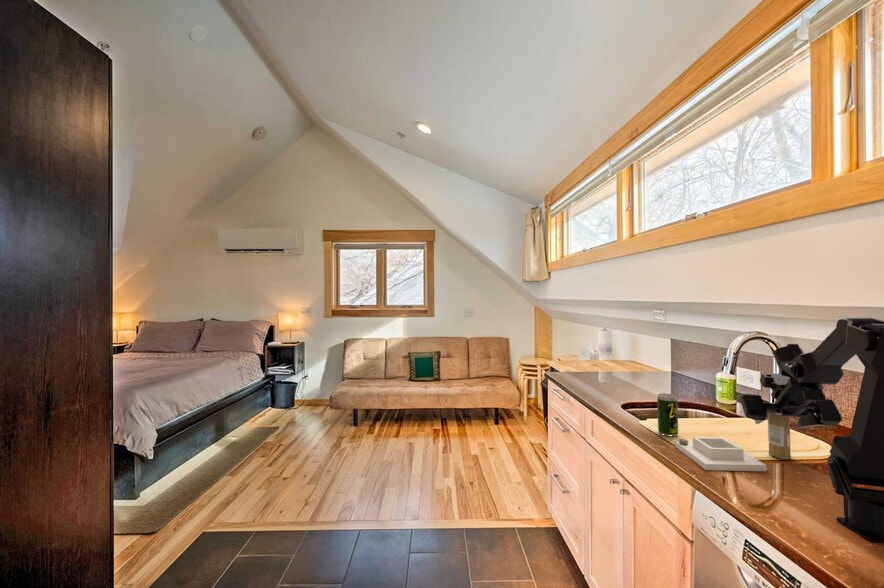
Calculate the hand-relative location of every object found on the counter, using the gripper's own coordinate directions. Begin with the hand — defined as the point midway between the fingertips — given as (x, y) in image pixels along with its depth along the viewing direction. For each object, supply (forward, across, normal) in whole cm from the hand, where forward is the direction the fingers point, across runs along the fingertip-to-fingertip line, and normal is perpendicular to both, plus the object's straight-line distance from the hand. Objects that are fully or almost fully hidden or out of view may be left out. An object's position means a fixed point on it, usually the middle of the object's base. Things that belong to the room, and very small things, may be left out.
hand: (777, 423), depth 99 cm
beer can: (+11, +24, 0) cm, 27 cm away
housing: (0, +16, +11) cm, 19 cm away
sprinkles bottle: (+5, 0, +7) cm, 8 cm away
